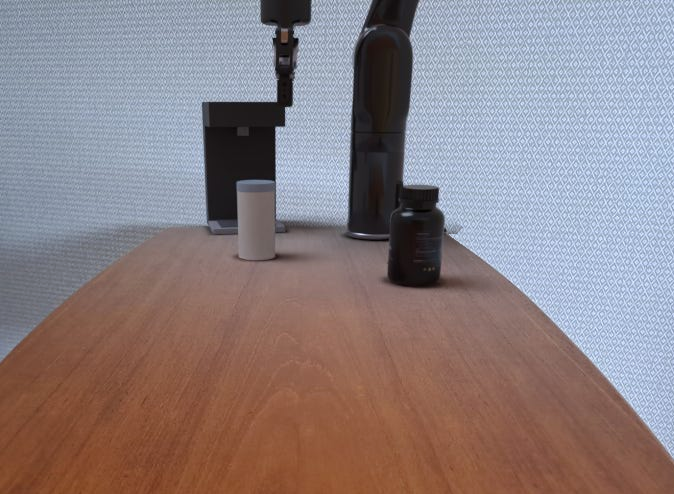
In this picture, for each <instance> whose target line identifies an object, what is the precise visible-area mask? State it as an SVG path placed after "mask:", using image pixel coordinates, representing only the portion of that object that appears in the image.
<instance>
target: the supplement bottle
mask: <svg viewBox="0 0 674 494" xmlns="http://www.w3.org/2000/svg"><path fill="white" fill-rule="evenodd" d="M439 197H440V187H439V186H436V185H430V184H406V185H405V184H403V186H401V187H400V197H399V202H401V206H399V207H398V208H396V209H395V210H394V211H393V212H392V214H391V217H390V233H389V239H388V254H387V270H386V271H387V274H386V277H387V279H388V280H389V282H390V283H393V284H395V285H399V286H405V287H416V288H417V287H429V286H433V285H436V284H437V283H438V282H439V281H440V279H441V271H442V260H443V259H442V258H443V247H444V236H445V232H444V228H445V223H446V216H445V214H444V211H442V210H441V209H440V207H437V204H438V203H440V198H439Z"/></svg>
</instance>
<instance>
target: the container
mask: <svg viewBox="0 0 674 494" xmlns="http://www.w3.org/2000/svg"><path fill="white" fill-rule="evenodd" d="M237 206H238V234H237V238H238V239H237V240H238V241H237V243H238V245H237V246H238V258H239V259H241V260H246V261H266V260H271V259H274V258H276V232H275V182H274V181H270V180H243V181H238V182H237Z"/></svg>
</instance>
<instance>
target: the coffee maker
mask: <svg viewBox="0 0 674 494" xmlns="http://www.w3.org/2000/svg"><path fill="white" fill-rule="evenodd" d="M201 115H202V116H201V117H202V140H203V141H202V142H203V163H204V165H203V166H204V188H205V189H204V190H205V191H204V192H205V211H206V212H205V213H206V216H205V217H206V224H207V225H208V228H209V229H210V230H211V232H212V234H213V235H235V234H237V235H238V206H237V182H238V181H243V180H270V181H274V182H275V233H286V226H285V225H284V224H283V223H282V222H281V221H279V220H278V219H277V175H276V174H277V157H276V155H277V152H276V151H277V150H276V149H277V148H276V147H277V146H276V145H277V144H276V143H277V142H276V140H277V139H276V136H277V134H276V133H277V132H276V128H280V127H281V128H285V127H286V107H279V106H278V105H277V101H201Z"/></svg>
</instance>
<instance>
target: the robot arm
mask: <svg viewBox="0 0 674 494" xmlns="http://www.w3.org/2000/svg"><path fill="white" fill-rule="evenodd" d="M259 3H260V7H259V8H260V10H259V12H260V23H261V24H263V25H264V26H270V27H275V30H274V35H275V37H272V38H271V50H272V52H273V53H272V56H273V57H272V61H273V62H272V63H273V67H274V72H275V73H274V76H275V79H276V102H277V105H278V106H279V107H285V108H291V107H293V106H294V81H295V79H296V70H297V68H298V53H299V50H300V38H299V37H295V36H294V35H295V28H296V27H304V26H308V25H310V24H311V22H312V5H313V4H312V3H313V2H312V0H260V1H259ZM419 3H420V0H371V2H370V6H369V9H368V11H367V14H366V17H365V20H364V23H363V24H362V28H361V30H360V33H359V35H358V38H357V39H356V42H355V44H354V46H353V48H352V53H351V67H352V71H353V73H352V74H353V75H352V77H353V80H352V103H351V113H350V128H349V129H350V132H349V135H350V136H349V162H348V164H349V166H348V191H347V195H348V197H347V223H346V226H347V228H346V236H348V237H349V238H353V239H354V238H355V239H359V240H372V241H373V240H375V241H377V240H379V241H380V240H383V241H384V240H389V233H390V217H391V214H392V212H393V211H394V210H395V209H396V208H398V207H399V206H401V202H399V197H400V187H401V186H404V174H405V173H404V172H405V156H406V155H405V154H406V139H407V125H408V118H409V114H410V108H411V95H412V84H413V83H412V82H413V69H414V68H413V67H414V49H413V44H412V41H411V39H410V38H411V35H412V30H413V26H414V25H413V24H414V21H415V17H416V13H417V9H418V6H419ZM446 232H447V228H446V227H444V233H446Z"/></svg>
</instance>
